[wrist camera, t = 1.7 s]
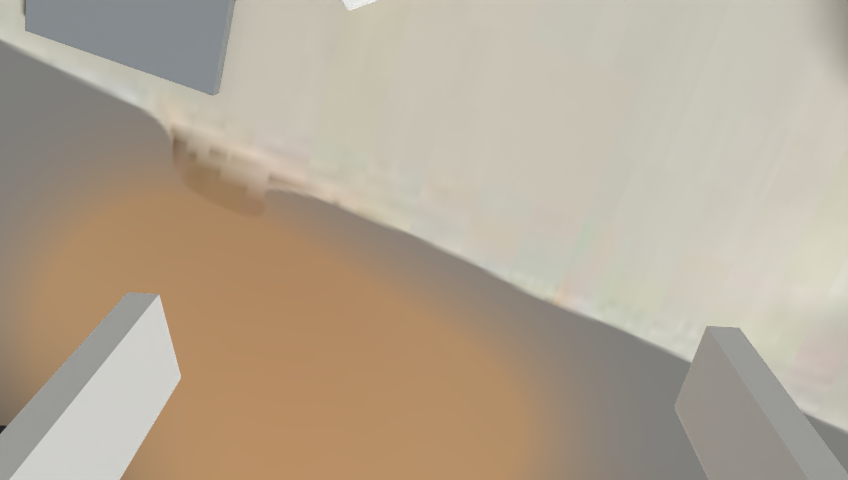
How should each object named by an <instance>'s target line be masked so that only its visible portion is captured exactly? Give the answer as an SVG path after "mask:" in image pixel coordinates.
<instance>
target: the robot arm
mask: <svg viewBox="0 0 848 480" xmlns="http://www.w3.org/2000/svg"><path fill="white" fill-rule="evenodd" d="M180 379H181V375H180V371H179V368H178V364H177V360H176V356H175V353H174V349H173V345H172V341H171V338H170V334H169V330H168V326H167V322H166V319H165V315H164V311H163V307H162V304H161V300H160V296H159V294H147V293H130V292H129V293H127V294H126V295H125V296H124V297H123V298H122V299H121V300H120V301H119V302H118V304H117V305H116V306H115V307H114V308H113V309H112V310H111V311H110V312H109V314H108V315H107V316H106V317H105V318H104V319H103V320H102V321H101V322H100V324H99V325H98V326H97V327H96V328H95V329H94V330H93V331H92V332H91V334H90V335H89V336H88V337H87V338H86V339H85V340H84V342H82V344H81V345H80V346H79V347H78V348H77V349H76V350H75V351H74V353H73V354H72V355H71V356H70V357H69V358H68V359H67V360H66V361H65V362H64V364H63V365H62V366H61V367H60V368H59V369H58V370H57V371H56V373H55V374H54V375H53V376H52V377H51V378H50V379H49V380H48V381H47V383H46V384H45V385H44V386H43V387H42V388H41V389H40V390H39V392H38V393H37V394H36V395H35V396H34V397H33V398H32V399H31V400H30V401H29V403H28V404H27V405H26V406H25V407H24V408H23V409H22V410H21V412H20V413H19V414H18V415H17V416H16V417H15V418H14V419H13V420H12V421H11V423H10V424H9V425H8V426H0V480H120V478H121V476H122V475H123V473H124V471H125V470H126V468H127V466H128V465H129V463H130V461H131V460H132V458H133V456H134V455H135V453H136V451H137V450H138V448H139V446H140V445H141V443H142V442H143V440H144V438H145V437H146V435H147V433H148V431H149V430H150V428H151V427H152V425H153V423H154V422H155V420H156V418H157V417H158V415H159V413H160V412H161V410H162V408H163V407H164V405H165V403H166V402H167V400H168V398H169V397H170V395H171V394H172V392H173V390H174V389H175V387H176V385H177V383H178V382H179V380H180ZM674 408H675V411H676V413H677V415H678V417H679V418H680V421H681V423H682V425H683V427H684V429H685V431H686V434H687V436H688V438H689V440H690V442H691V444H692V446H693V448H694V450H695V452H696V454H697V457H698V459H699V461H700V463H701V465H702V467H703V469H704V471H705V473H706V475H707V477H708V479H709V480H848V474H847V473H846V471H845V470H844V468H843V467H842V466H841V464H840V463H839V462H838V460H837V459H836V458H835V456H834V455H833V454H832V452H831V451H830V449H829V448H828V447H827V446H826V444H825V443H824V441H823V440H822V439H821V437H820V436H819V435H818V433H817V432H816V431H815V429H814V428H813V427H812V425H811V424H810V423H809V421H808V420H807V419H806V417H805V416H804V414H803V413H802V412H801V410H800V409H799V408H798V406H797V405H796V404H795V402H794V401H793V400H792V398H791V397H790V396H789V394H788V393H787V392H786V390H785V389H784V387H783V386H782V385H781V383H780V382H779V381H778V379H777V378H776V377H775V375H774V374H773V373H772V371H771V370H770V369H769V367H768V366H767V365H766V363H765V362H764V361H763V359H762V358H761V356H760V355H759V354H758V352H757V351H756V350H755V348H754V347H753V346H752V344H751V343H750V342H749V340H748V339H747V338H746V336H745V335H744V334H743V332H742V331H741V330H740V328H732V327H715V326H707V327H706V329H705V332H704V334H703V337H702V339H701V342H700V344H699V347H698V349H697V352H696V354H695V357H694V359H693V362H692V364H691V366H690V369H689V371H688V374H687V376H686V379H685V381H684V384H683V386H682V389H681V391H680V394H679V396H678V399H677V401H676V404H675V406H674Z"/></svg>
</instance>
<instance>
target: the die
mask: <svg viewBox="0 0 848 480" xmlns="http://www.w3.org/2000/svg"><path fill="white" fill-rule="evenodd" d="M339 1H340V2H341V3H342V4H343V5H344V6H345V7H346V8H347V9H348V10H352V9H355V8H358V7H361V6H363V5H366V4H369V3H372V2H375V1H378V0H339Z"/></svg>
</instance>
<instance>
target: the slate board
mask: <svg viewBox="0 0 848 480" xmlns="http://www.w3.org/2000/svg"><path fill="white" fill-rule="evenodd" d="M234 4H235V0H26V16H25V31H28V32H31V33H34V34H37V35H40V36H43V37H45V38H48V39H51V40H54V41H57V42H60V43H63V44H66V45H69V46H71V47H74V48H77V49H80V50H83V51H86V52H89V53H92V54H95V55H97V56H100V57H103V58H106V59H109V60H112V61H115V62H118V63H120V64H123V65H126V66H129V67H132V68H135V69H138V70H141V71H144V72H146V73H149V74H152V75H155V76H158V77H161V78H164V79H167V80H169V81H172V82H175V83H178V84H181V85H184V86H187V87H190V88H193V89H195V90H198V91H201V92H204V93H207V94H210V95H215V94H217V93H219V88H220V83H221V77H222V71H223V66H224V60H225V54H226V49H227V43H228V38H229V32H230V26H231V21H232V15H233V10H234Z"/></svg>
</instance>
